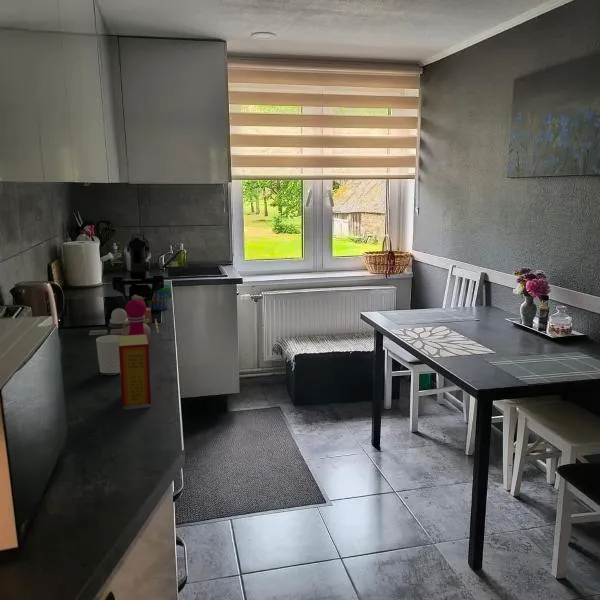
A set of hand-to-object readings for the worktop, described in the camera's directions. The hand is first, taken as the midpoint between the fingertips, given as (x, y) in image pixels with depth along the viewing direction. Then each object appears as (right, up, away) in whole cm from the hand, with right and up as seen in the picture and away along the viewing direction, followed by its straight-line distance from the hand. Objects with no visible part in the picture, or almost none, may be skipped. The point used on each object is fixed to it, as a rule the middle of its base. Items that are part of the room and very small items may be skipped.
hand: (138, 300), depth 200 cm
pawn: (+2, -10, -5) cm, 12 cm away
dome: (-8, -8, +1) cm, 11 cm away
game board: (-6, -11, -1) cm, 12 cm away
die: (0, -8, +7) cm, 10 cm away
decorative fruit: (+7, -16, -24) cm, 29 cm away
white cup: (+7, -20, -48) cm, 52 cm away
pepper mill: (+10, -18, -35) cm, 41 cm away
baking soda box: (+20, -25, -68) cm, 75 cm away
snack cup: (-2, -4, +34) cm, 35 cm away
